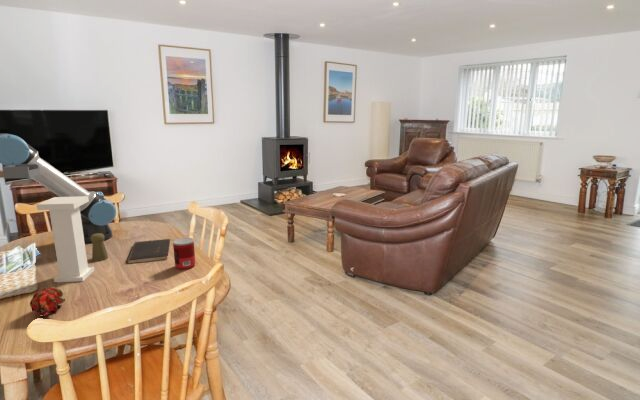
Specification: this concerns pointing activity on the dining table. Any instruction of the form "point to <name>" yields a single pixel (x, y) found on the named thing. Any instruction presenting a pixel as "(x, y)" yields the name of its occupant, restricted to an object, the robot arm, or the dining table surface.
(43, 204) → the stand
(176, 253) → the canned food
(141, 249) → the hardcover book
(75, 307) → the dining table surface
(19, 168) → the brown and grey bar
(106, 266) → the dining table surface
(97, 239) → the cork
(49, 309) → the dragon fruit
